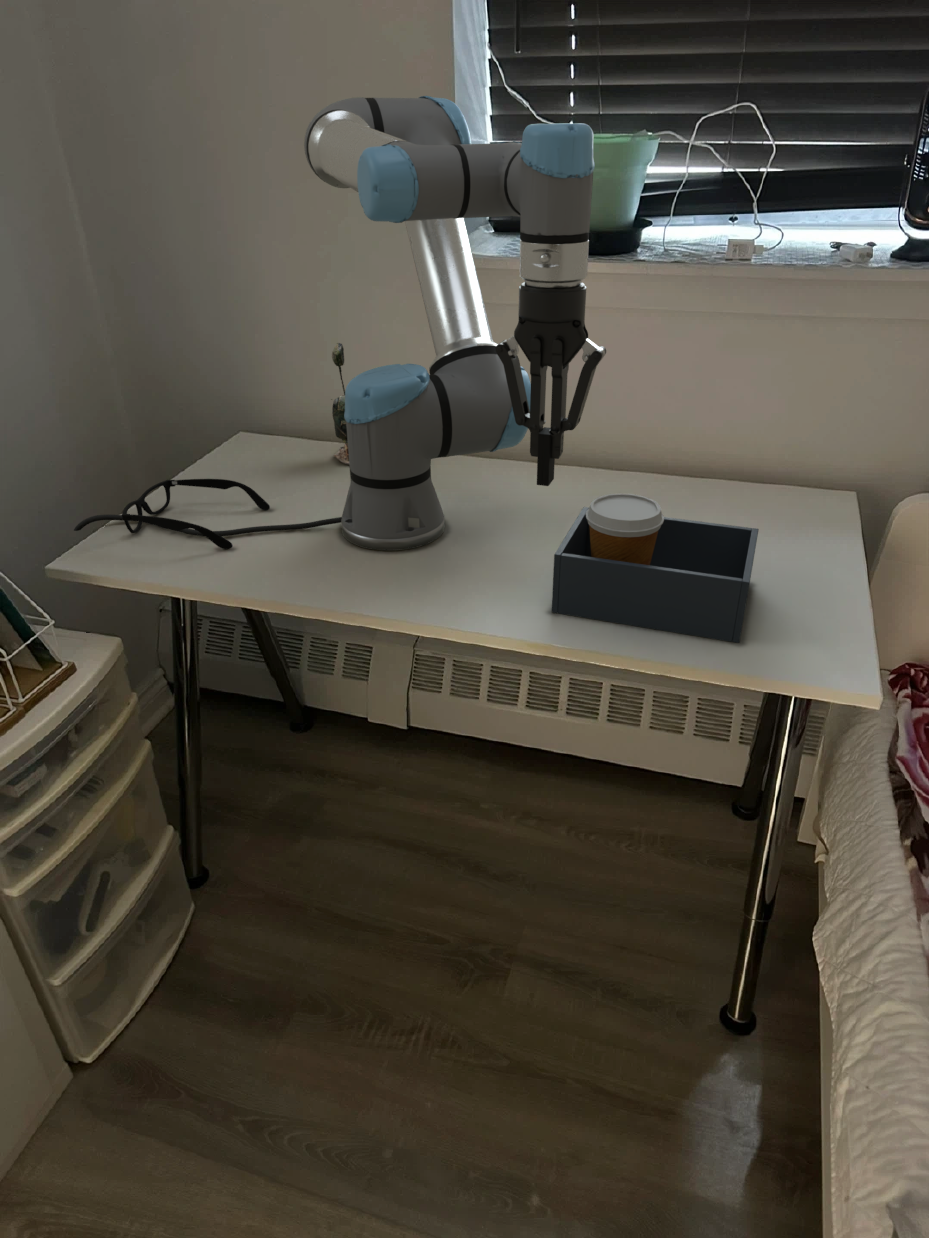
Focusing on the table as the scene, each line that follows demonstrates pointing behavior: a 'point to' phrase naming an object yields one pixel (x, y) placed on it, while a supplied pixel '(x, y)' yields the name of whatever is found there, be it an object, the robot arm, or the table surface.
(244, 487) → the glasses
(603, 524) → the disposable coffee cup
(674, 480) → the table surface
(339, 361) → the plant with pod
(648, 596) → the bin
